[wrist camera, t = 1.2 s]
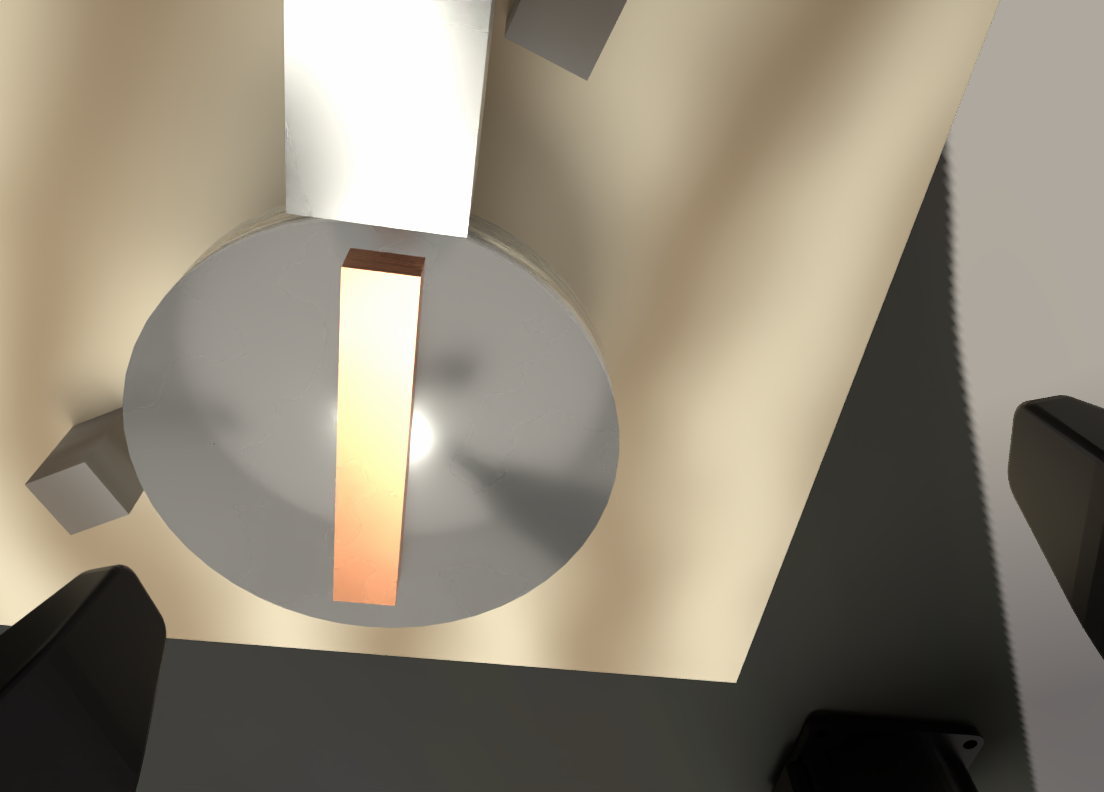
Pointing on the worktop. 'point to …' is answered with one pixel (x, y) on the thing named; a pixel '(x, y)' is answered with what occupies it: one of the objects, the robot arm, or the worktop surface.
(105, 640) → the robot arm
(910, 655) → the worktop surface
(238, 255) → the grey piece
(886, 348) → the worktop surface
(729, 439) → the base plate
